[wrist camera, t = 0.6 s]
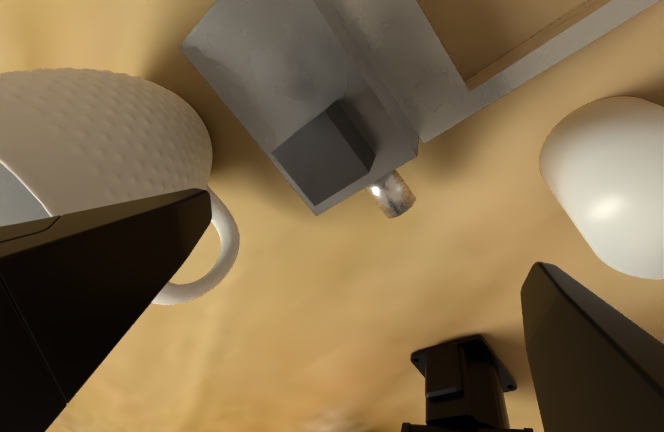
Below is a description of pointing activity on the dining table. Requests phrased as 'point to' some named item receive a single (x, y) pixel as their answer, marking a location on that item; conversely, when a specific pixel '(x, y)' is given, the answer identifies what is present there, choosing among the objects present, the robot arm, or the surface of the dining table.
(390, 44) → the u-shaped channel
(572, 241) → the dining table surface
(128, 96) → the mug
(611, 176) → the light bulb
